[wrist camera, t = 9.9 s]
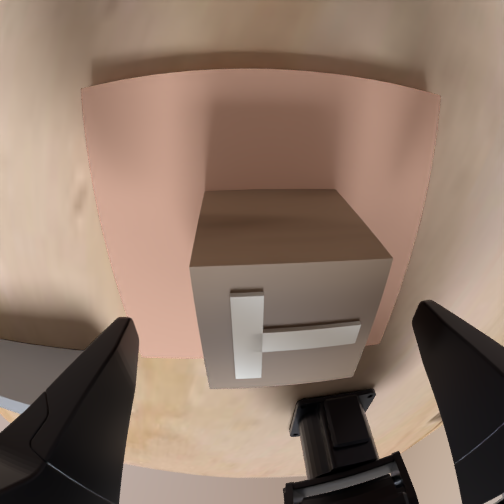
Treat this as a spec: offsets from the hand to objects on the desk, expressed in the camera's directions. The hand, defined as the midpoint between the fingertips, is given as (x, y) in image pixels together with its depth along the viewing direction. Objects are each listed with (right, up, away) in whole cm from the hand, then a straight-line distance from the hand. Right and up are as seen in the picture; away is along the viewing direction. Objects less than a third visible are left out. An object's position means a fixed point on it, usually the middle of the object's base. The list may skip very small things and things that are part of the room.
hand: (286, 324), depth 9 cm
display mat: (0, +3, +5) cm, 6 cm away
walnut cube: (0, +2, +4) cm, 5 cm away
